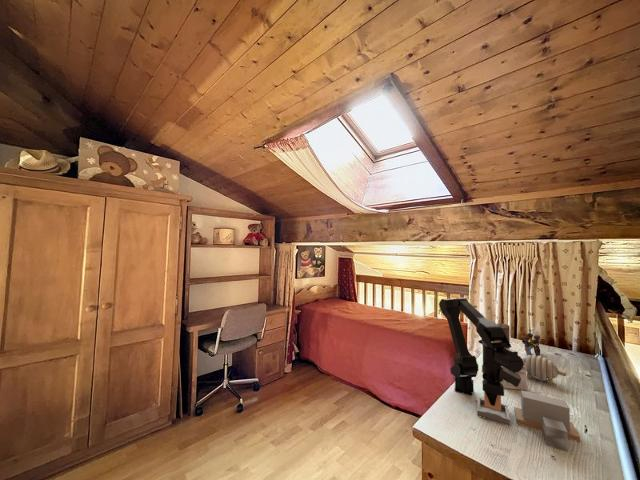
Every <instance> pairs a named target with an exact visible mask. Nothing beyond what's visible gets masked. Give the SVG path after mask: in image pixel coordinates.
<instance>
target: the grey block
mask: <svg viewBox="0 0 640 480" xmlns="http://www.w3.org/2000/svg"><path fill="white" fill-rule="evenodd" d="M542 425H543V431H542V437H543V440H544V443H545V446H547V447H551V448H552V449H553V448H554V449H557V450H560V451H563V452H566V453H567V452H568V451H569V449H568V448H569V446H568V445H569V444H568V441H569V440H568V439H569V438H568V435H567V430H566V428H565V426H564V424H563V422H560V421H556V420H552V419H548V418H545V417H542Z"/></svg>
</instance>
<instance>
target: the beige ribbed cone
mask: <svg viewBox="0 0 640 480" xmlns="http://www.w3.org/2000/svg"><path fill="white" fill-rule="evenodd" d="M522 359H523V360H524V361H525V362H526V379H528V380H531V377H532V378H536V380H538V381H543V382H547V384H548V385H549V386H553V385H552V384H553V382H554V379H557V377H558V376H562V377H563V376H564V377H566V376H567V373H566V372H564V371H560V370H559V369H558V367H557V366H556V364H554V362H553V361H552V360H548V358H547V357H543V356H542V355H541V356H536V354H533V355H532V356H531V355H528V356H526V357H522Z"/></svg>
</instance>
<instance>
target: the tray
mask: <svg viewBox="0 0 640 480" xmlns="http://www.w3.org/2000/svg"><path fill="white" fill-rule="evenodd" d="M476 404H477V406H476V407H477V409H476V411H477V413H476V415H478V416H477V417H479V416H481V417H480V418H483V417H485V418H484V419H486V420H490V421H493V422H496V423H499V424H502V425H506V426H509V427H510V426H511V419H510V418H511V417H510V413H509V408H508V407H509V406H508V404H504V403H501V411H500V410H496V409H493V408H489V407H486V406H485V403H484V398H481V397H478V396H477V403H476Z"/></svg>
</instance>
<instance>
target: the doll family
mask: <svg viewBox="0 0 640 480" xmlns="http://www.w3.org/2000/svg"><path fill="white" fill-rule="evenodd" d="M526 334H527V335H521V338H522V339H521V342H522V344H524V345H523V346H524V351H525V356H526V357H527V356H528V355H531V356H533V355H536V356H541V357H542V354H541V349H540V339H541V336H540V335H539V334H535V335H534V334H533V333H532V332H529V333H526ZM532 350H533V352H534V354H533V353H532ZM540 354H541V355H540Z"/></svg>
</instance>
